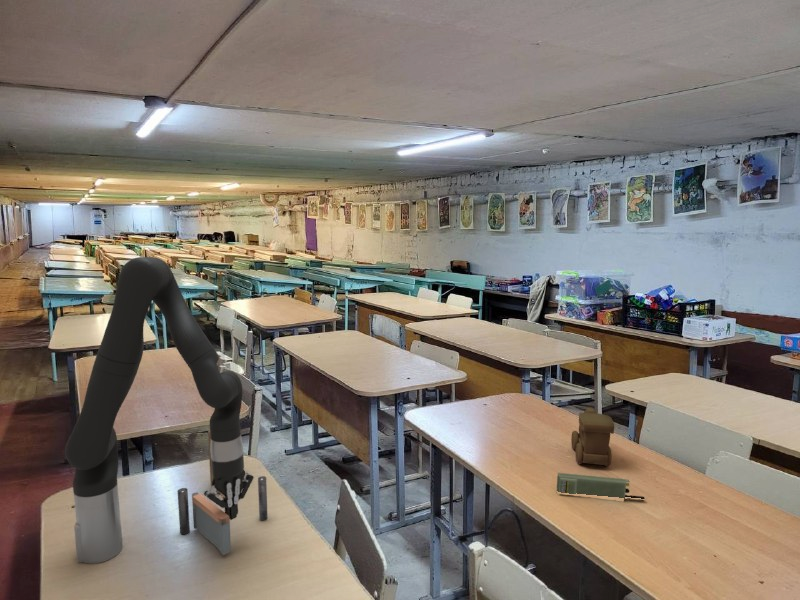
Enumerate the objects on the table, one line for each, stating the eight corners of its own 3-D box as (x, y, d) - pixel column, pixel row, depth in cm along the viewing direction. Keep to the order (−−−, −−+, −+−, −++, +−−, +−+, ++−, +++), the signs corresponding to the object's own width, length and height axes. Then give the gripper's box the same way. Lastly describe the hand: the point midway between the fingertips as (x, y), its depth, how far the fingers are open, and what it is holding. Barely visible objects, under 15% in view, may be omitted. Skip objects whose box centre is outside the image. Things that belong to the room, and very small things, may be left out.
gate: (192, 527, 138) (190, 494, 136) (199, 524, 139) (197, 491, 138) (223, 555, 127) (221, 519, 126) (230, 551, 129) (229, 516, 127)
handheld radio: (556, 490, 161) (642, 499, 157) (557, 496, 158) (645, 505, 154) (557, 471, 160) (644, 479, 155) (558, 476, 157) (647, 485, 152)
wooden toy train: (613, 473, 172) (617, 425, 169) (577, 470, 174) (580, 422, 171) (601, 447, 191) (605, 403, 189) (569, 444, 193) (572, 401, 191)
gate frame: (179, 536, 136) (177, 493, 134) (180, 530, 138) (177, 488, 136) (268, 520, 143) (266, 480, 141) (267, 515, 146) (265, 475, 144)
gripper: (242, 439, 135) (246, 501, 138) (193, 458, 125) (199, 524, 129) (259, 448, 131) (263, 511, 134) (210, 468, 121) (215, 536, 124)
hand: (231, 517), depth 131 cm, fingers closed
